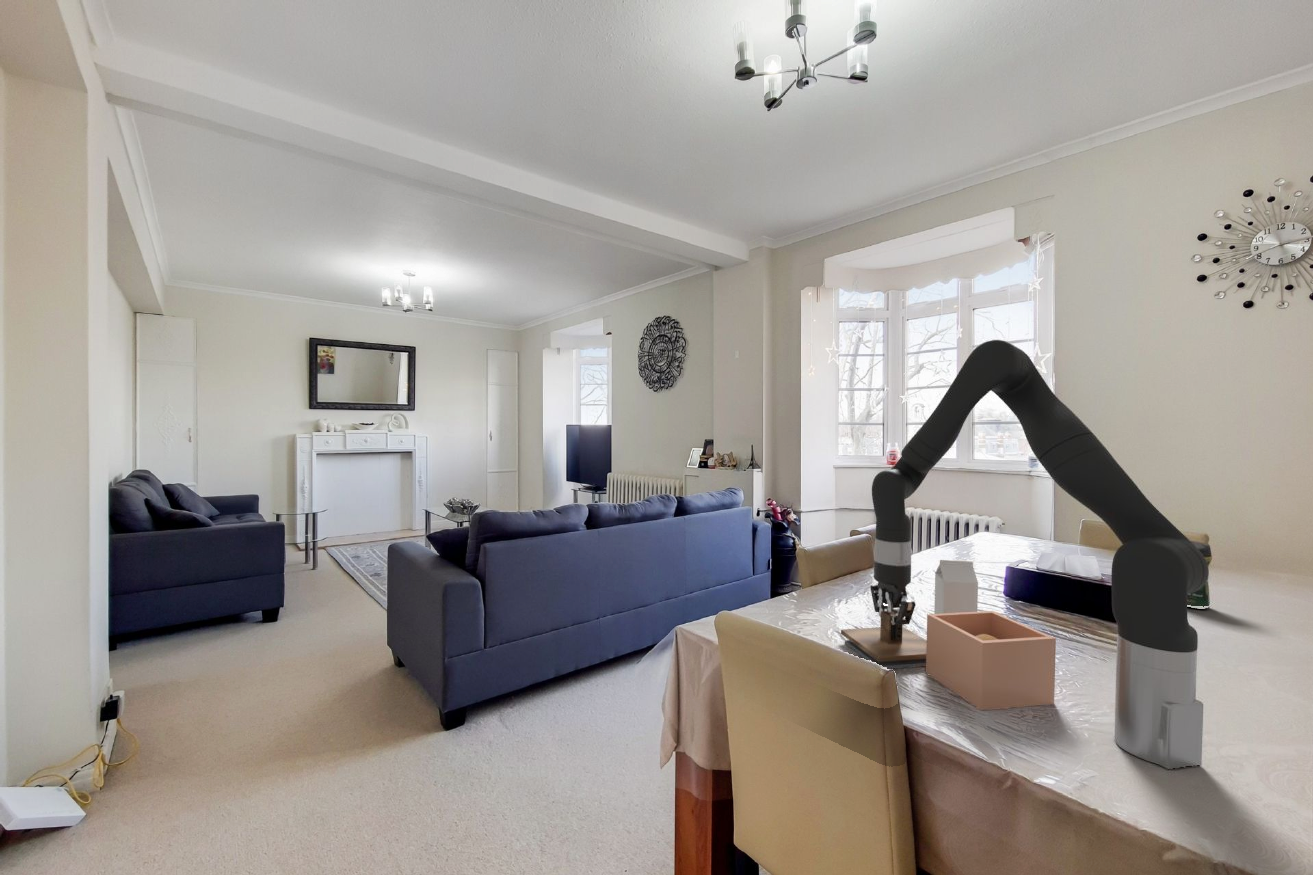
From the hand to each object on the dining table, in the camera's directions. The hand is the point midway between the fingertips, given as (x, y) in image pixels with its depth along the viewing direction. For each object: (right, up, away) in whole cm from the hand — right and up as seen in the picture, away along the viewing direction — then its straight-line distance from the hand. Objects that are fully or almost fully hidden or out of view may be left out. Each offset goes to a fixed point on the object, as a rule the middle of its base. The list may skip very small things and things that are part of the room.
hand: (891, 637), depth 122 cm
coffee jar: (+99, -4, +36) cm, 106 cm away
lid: (0, -2, 0) cm, 2 cm away
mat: (0, -4, 0) cm, 4 cm away
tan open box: (+12, -4, -16) cm, 20 cm away
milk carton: (+18, -4, +7) cm, 20 cm away
